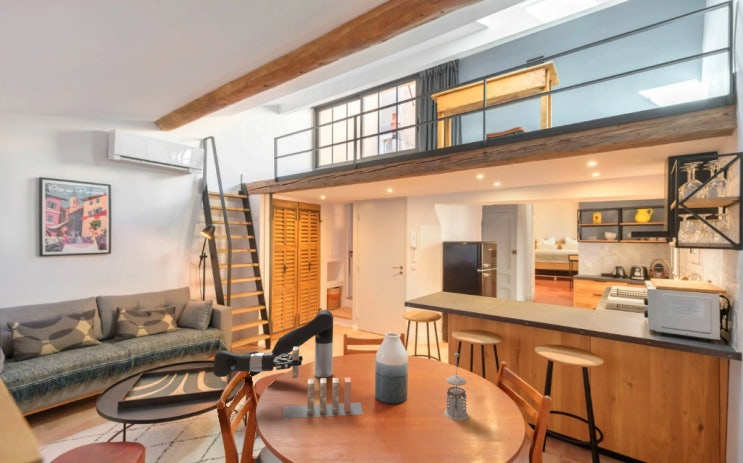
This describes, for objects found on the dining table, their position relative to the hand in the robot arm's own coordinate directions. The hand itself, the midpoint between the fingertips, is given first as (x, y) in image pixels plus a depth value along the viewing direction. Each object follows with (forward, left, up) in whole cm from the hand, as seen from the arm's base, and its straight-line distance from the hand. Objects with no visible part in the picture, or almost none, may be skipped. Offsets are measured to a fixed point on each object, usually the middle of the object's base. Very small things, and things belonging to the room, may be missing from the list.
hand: (301, 360), depth 151 cm
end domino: (+12, +20, -16) cm, 28 cm away
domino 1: (0, -3, -7) cm, 7 cm away
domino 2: (+12, +5, -16) cm, 21 cm away
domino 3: (+12, +10, -16) cm, 22 cm away
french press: (+20, +64, -18) cm, 69 cm away
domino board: (+12, +10, -17) cm, 23 cm away
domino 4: (+12, +15, -16) cm, 25 cm away
